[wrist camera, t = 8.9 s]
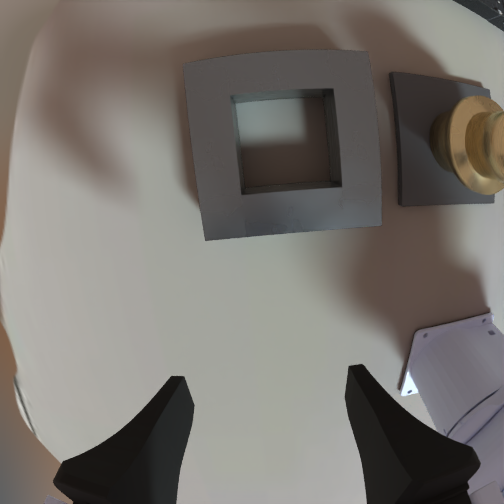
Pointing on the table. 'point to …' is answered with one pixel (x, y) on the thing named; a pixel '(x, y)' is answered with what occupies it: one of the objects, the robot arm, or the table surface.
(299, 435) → the table surface
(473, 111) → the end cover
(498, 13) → the disk drive
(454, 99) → the mat
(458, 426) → the robot arm
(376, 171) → the housing
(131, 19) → the table surface
